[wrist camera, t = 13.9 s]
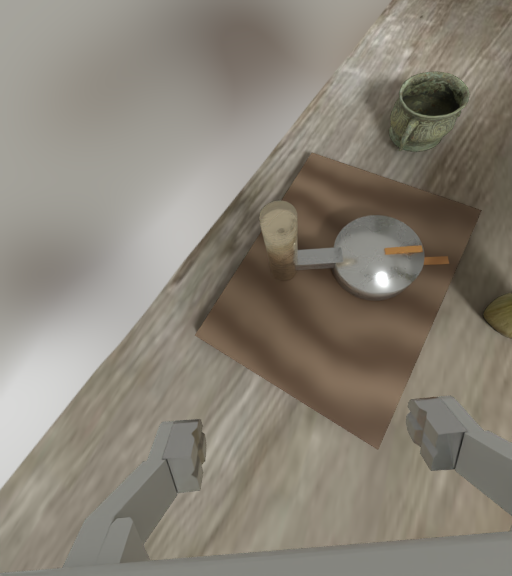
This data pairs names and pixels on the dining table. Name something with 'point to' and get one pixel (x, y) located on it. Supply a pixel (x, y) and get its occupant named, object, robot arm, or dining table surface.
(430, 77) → the vessel
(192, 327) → the dining table surface
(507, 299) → the fennel bulb
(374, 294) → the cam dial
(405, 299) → the base board
